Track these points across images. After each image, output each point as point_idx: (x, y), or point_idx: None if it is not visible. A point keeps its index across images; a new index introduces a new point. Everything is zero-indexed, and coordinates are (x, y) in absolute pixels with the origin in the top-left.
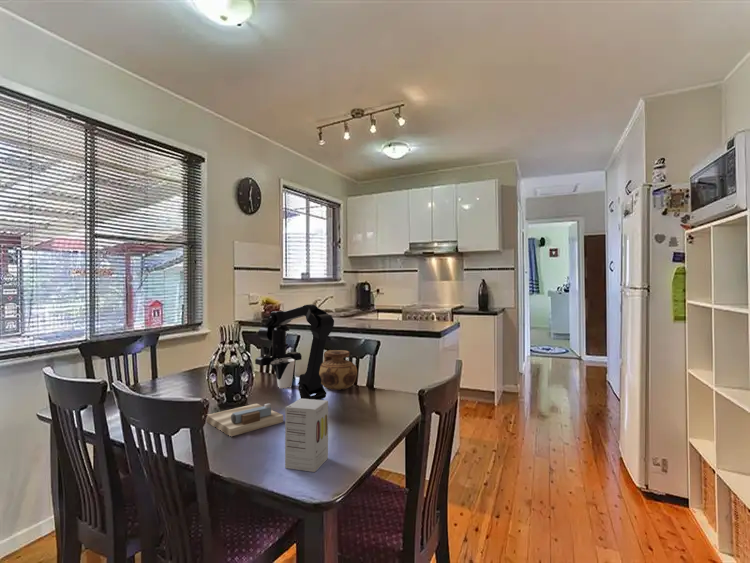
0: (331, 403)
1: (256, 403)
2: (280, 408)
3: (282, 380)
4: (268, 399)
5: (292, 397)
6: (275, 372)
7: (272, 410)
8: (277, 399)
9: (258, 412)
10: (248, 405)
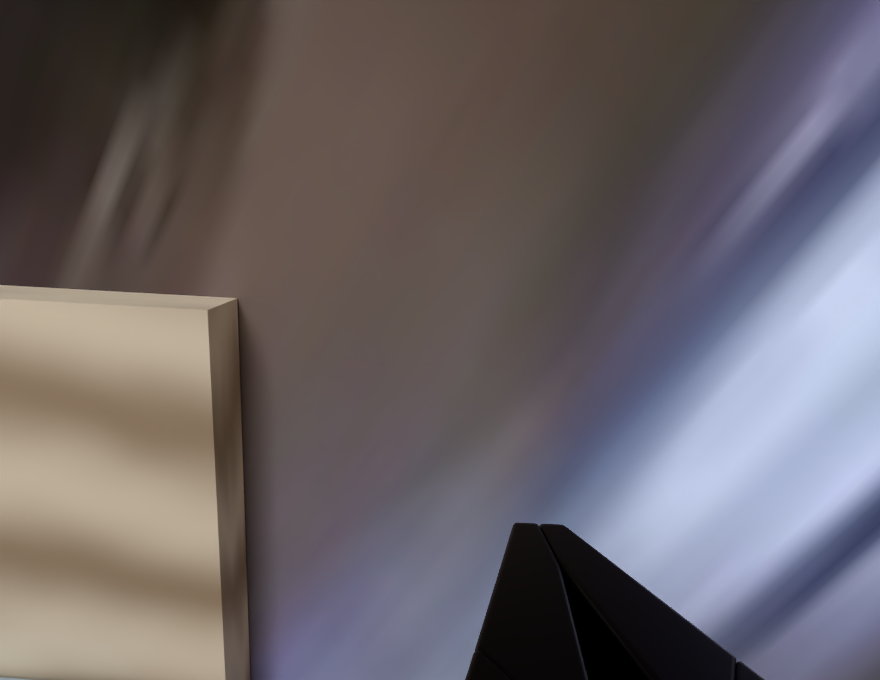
0: (847, 655)
1: (203, 312)
2: (437, 442)
3: None
4: (551, 31)
5: (792, 199)
6: (477, 649)
7: (221, 637)
8: (623, 127)
9: None
10: (91, 312)
